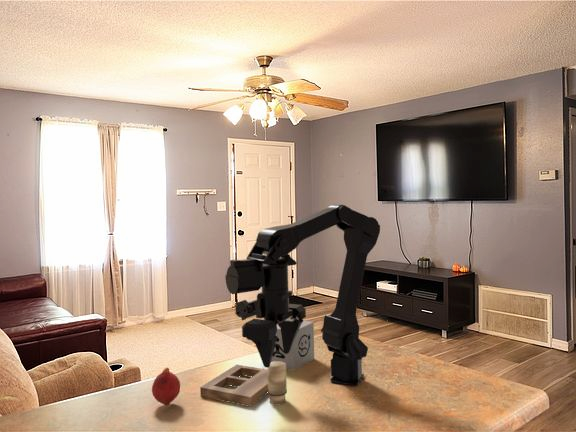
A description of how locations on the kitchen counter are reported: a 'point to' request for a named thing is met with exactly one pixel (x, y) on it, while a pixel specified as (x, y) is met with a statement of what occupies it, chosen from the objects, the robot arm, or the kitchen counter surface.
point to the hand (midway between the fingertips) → (277, 359)
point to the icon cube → (296, 347)
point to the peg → (277, 382)
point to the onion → (166, 387)
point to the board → (247, 388)
